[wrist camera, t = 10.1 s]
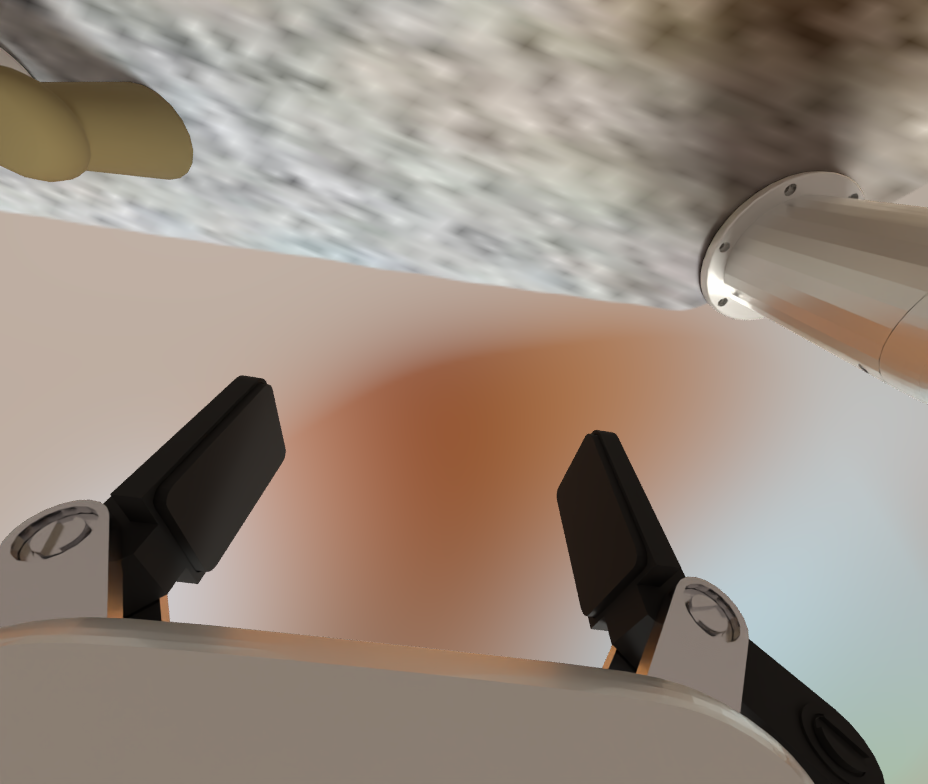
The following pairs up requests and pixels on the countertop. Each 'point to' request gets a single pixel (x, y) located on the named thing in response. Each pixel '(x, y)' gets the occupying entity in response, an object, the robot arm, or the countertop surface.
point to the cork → (88, 129)
